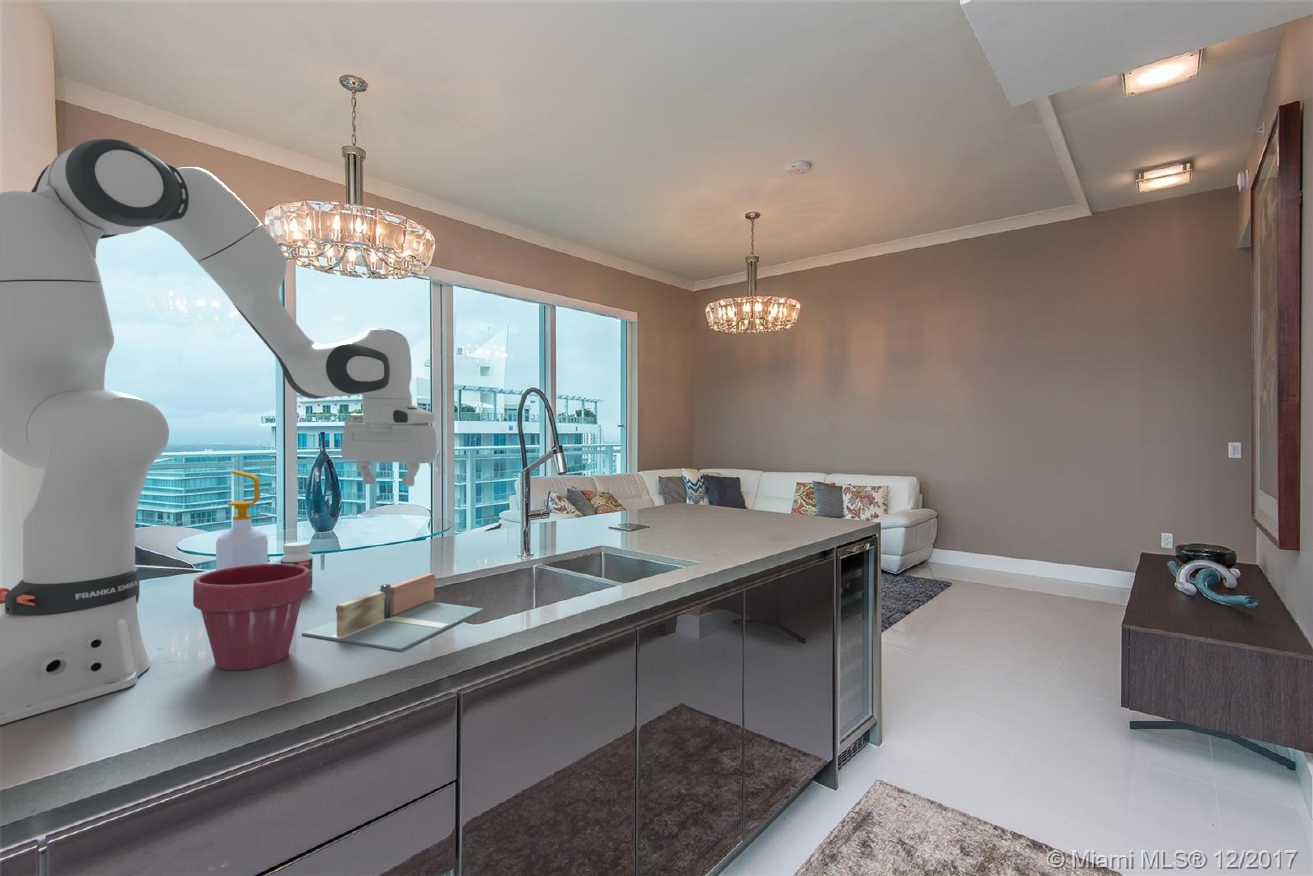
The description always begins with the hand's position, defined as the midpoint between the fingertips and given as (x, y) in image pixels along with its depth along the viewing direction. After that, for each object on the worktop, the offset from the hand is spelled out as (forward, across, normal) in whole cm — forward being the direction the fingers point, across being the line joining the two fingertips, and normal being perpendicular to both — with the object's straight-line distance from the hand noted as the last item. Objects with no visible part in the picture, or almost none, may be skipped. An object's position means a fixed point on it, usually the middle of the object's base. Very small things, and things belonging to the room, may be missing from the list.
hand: (388, 485), depth 119 cm
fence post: (+23, +7, -9) cm, 26 cm away
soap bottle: (+23, -37, -2) cm, 43 cm away
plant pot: (+23, +2, -30) cm, 38 cm away
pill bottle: (+23, -22, -1) cm, 32 cm away
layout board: (+23, +10, -9) cm, 27 cm away
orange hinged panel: (+22, +7, -3) cm, 24 cm away
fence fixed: (+23, +7, -15) cm, 28 cm away
